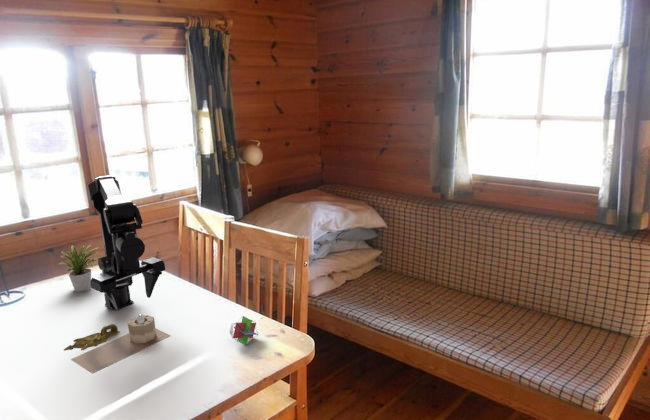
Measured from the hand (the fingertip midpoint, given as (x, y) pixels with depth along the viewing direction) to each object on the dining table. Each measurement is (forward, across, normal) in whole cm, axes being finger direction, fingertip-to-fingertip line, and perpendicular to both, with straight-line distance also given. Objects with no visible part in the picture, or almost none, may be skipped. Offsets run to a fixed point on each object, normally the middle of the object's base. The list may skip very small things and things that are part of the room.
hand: (133, 303), depth 133 cm
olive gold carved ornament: (+11, +9, -8) cm, 16 cm away
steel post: (+9, 0, +2) cm, 10 cm away
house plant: (+12, -8, -48) cm, 50 cm away
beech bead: (+9, 0, +2) cm, 10 cm away
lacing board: (+11, +6, +2) cm, 12 cm away
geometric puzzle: (+11, -16, +26) cm, 32 cm away
